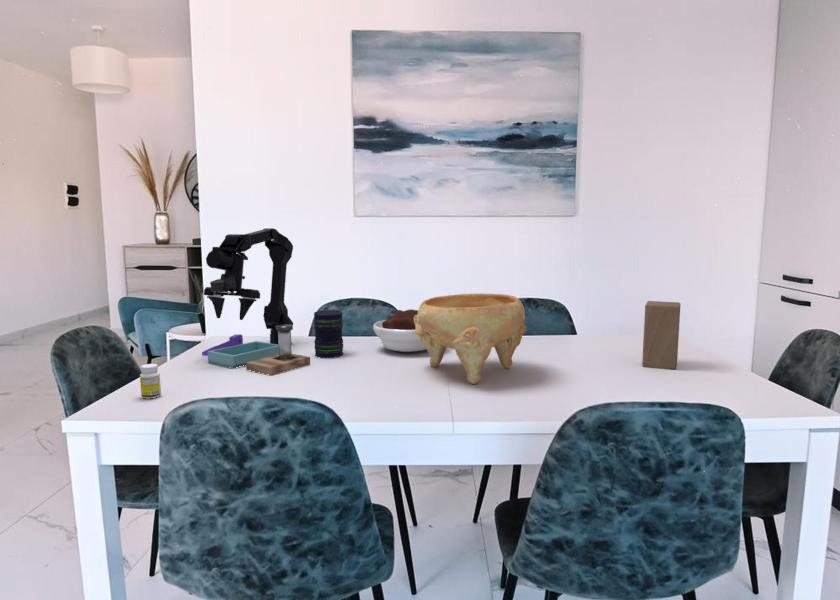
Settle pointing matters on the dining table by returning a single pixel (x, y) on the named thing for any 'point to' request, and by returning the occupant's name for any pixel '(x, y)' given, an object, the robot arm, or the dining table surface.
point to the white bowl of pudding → (399, 332)
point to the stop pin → (284, 341)
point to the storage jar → (328, 334)
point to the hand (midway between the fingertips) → (229, 319)
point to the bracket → (226, 343)
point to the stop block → (277, 364)
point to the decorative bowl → (471, 328)
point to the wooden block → (661, 334)
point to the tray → (242, 354)
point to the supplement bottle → (150, 381)
